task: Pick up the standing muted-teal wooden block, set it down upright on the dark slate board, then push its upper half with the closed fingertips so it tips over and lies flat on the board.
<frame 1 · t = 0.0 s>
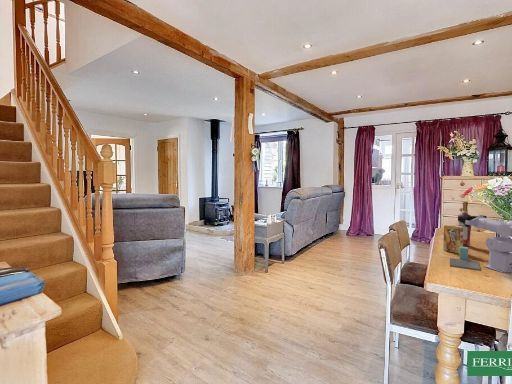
hand: (464, 218, 155), 22 cm above the table, tool horizontal, fingers open, 7 cm apart
slate board: (464, 264, 144), on the table
teal block: (463, 259, 152), on the table
liquor: (463, 246, 180), on the table
candy box: (452, 252, 167), on the table
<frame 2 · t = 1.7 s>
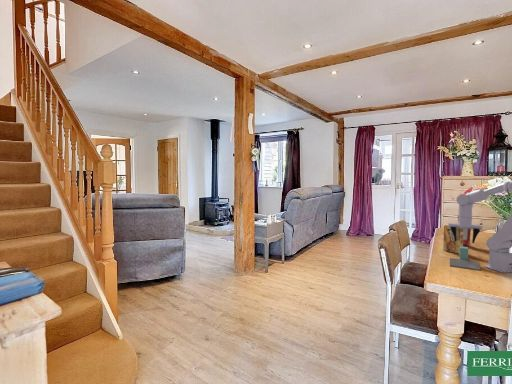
hand: (464, 241, 152), 10 cm above the table, tool pointing down, fingers open, 7 cm apart
nothing on the table moved.
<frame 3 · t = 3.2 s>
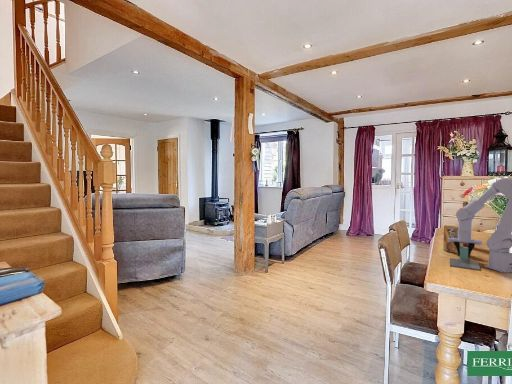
hand: (463, 256, 152), 2 cm above the table, tool pointing down, fingers closed on teal block, 3 cm apart
teal block: (463, 259, 152), on the table, touching gripper
everything else where it was.
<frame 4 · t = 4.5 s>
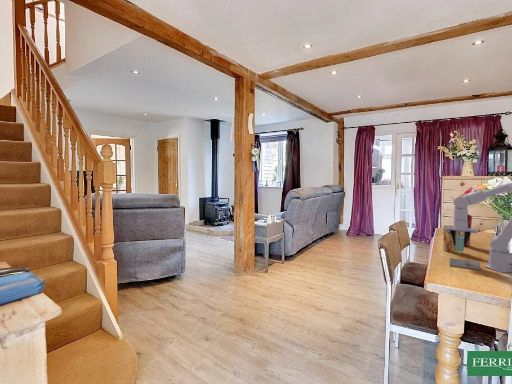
hand: (459, 245, 147), 9 cm above the table, tool pointing down, fingers closed on teal block, 3 cm apart
teal block: (459, 249, 148), point 7 cm above the table, touching gripper
everything else where it was.
when the fingers open (3 cm above the table, at t = 5.8 s): teal block stays where it is, resting on slate board.
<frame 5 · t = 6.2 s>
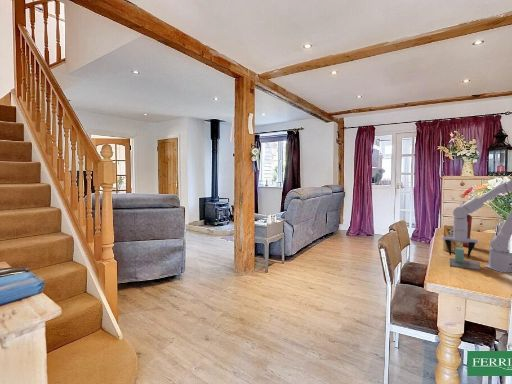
hand: (459, 255, 148), 3 cm above the table, tool pointing down, fingers open, 7 cm apart
teal block: (459, 260, 148), point 1 cm above the table, touching slate board
everything else where it was.
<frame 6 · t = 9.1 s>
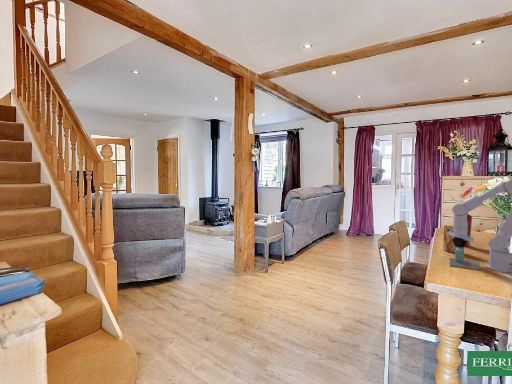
hand: (459, 252, 150), 5 cm above the table, tool pointing down, fingers closed
teal block: (459, 260, 148), point 1 cm above the table, tilted 12°, touching slate board
everything else where it was.
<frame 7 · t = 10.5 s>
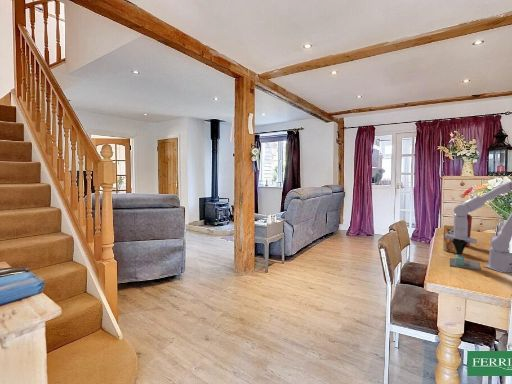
hand: (459, 254, 146), 5 cm above the table, tool pointing down, fingers closed
teal block: (459, 258, 147), point 2 cm above the table, tilted 90°, touching slate board
everything else where it was.
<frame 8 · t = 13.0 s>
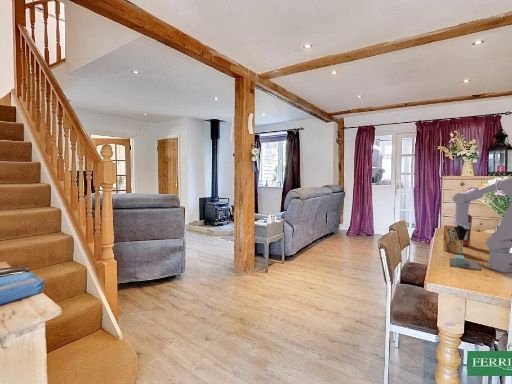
hand: (460, 239, 155), 10 cm above the table, tool pointing down, fingers closed
nothing on the table moved.
at the end: teal block tilted 90°; teal block 2.5 cm from the slate board (horizontally); the gripper is holding nothing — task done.
